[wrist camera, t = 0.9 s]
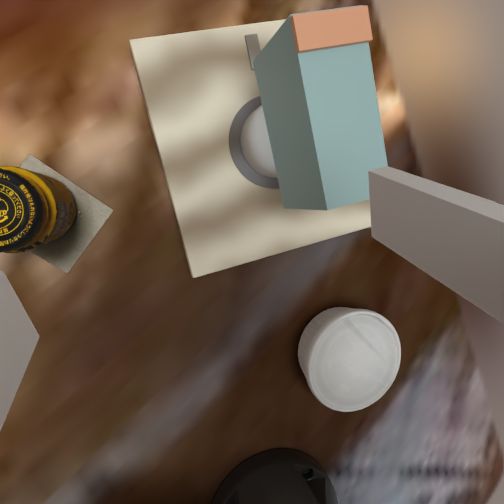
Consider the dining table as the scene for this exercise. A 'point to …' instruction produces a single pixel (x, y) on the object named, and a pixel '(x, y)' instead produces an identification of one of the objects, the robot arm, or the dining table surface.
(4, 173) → the condiment
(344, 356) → the ramekin
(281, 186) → the teal block on base
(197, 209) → the post base
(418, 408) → the dining table surface
